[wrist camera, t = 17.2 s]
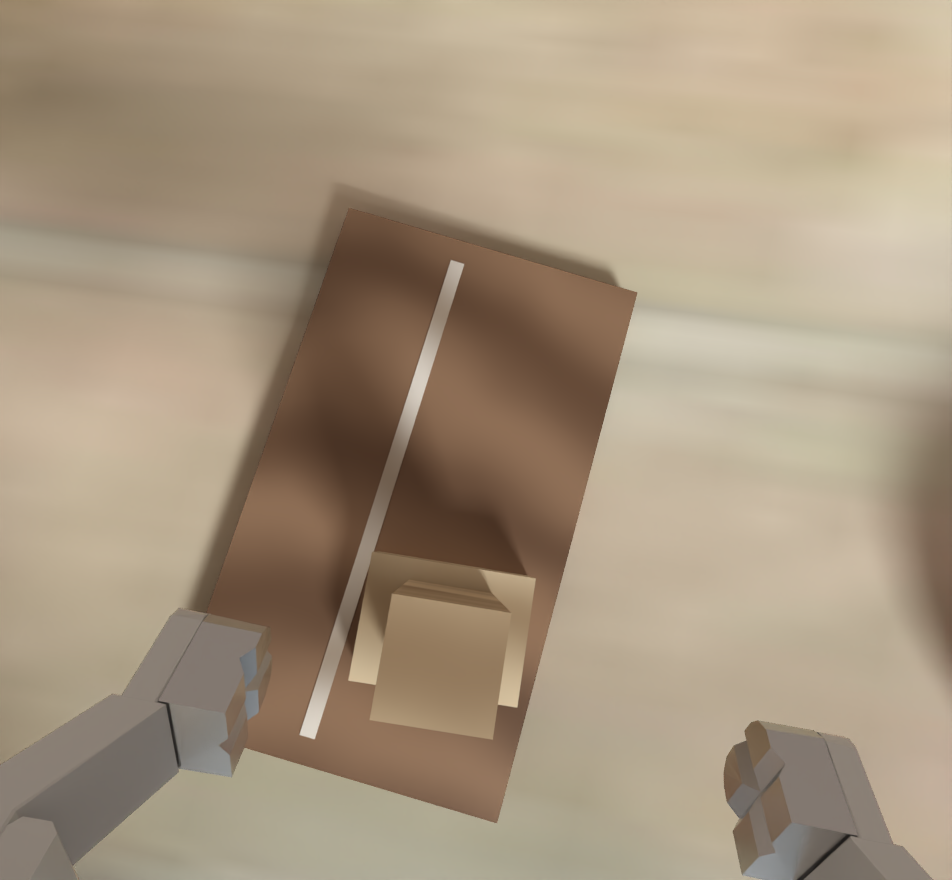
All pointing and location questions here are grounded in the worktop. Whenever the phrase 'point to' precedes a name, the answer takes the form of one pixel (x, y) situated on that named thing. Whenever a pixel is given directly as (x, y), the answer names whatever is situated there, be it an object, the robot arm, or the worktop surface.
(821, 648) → the worktop surface
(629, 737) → the worktop surface
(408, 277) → the walnut board
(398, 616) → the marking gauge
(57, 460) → the worktop surface
